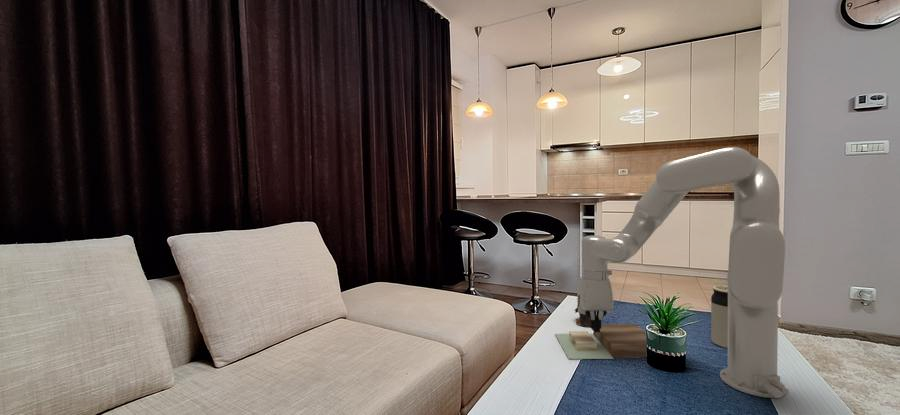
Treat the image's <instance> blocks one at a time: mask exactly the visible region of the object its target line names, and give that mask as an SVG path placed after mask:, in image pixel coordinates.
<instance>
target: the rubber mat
mask: <svg viewBox="0 0 900 415" xmlns="http://www.w3.org/2000/svg"><path fill="white" fill-rule="evenodd" d="M588 333H589V332H588ZM589 334H590V335H591V336H592V338H593V339H594V340H595V342H596V343H597V351H577V350H576V348H575V347H574V345H573V344H572V342H571V340H570V339H569V333H554V337H556V339H557V342H558V343H559V346H560V347H561V349H562V350H563V352H564V353H565V356H566V357H567V359H568V360H570V361H573V360H574V361H579V360H581V361H583V359H615V358H613V357H612V356H611V355H610V354H609V352H608V351H607V350H606V349H605V348H604V346H603V345H602V344H601V343H600V342H599V340H598V339H597V338H596V337H595V336H594V332H592V333H591V332H590V333H589Z"/></svg>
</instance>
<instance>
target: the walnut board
mask: <svg viewBox="0 0 900 415" xmlns="http://www.w3.org/2000/svg"><path fill="white" fill-rule="evenodd" d="M646 333H647V332H646V331H645V330H644V329H642V328H641V327H640V326H639V325H637V324H636V323H628V324H627V323H616V324H615V323H608V324H607V323H605V324H604V323H603V324H602V323H601V329H600V332H594V331H593V334H594V336H595V337H596V338H597V339H598V340H599V342H600V343H601V344H602V345H603V346H604V348H605V349H606V350H607V351H608V352H609V354H610V355H611V356H612V357H613V358H614V359H638V358H637V357H642V358H641V359H644V358H643V357H646V348H647V344H646Z"/></svg>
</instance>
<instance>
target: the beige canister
mask: <svg viewBox="0 0 900 415" xmlns="http://www.w3.org/2000/svg"><path fill="white" fill-rule="evenodd" d="M711 288H712V290H713V293H712V295H711V298H710V299H711V301H710V302H711V303H710V304H711V306H710V307H711V310H710V312H711V315H710V316H711V318H710V319H711V324H710V328H711V329H710V331H711V333H710V334H711V338H710V340H711V342H712V343H713V344H715V345H716V346H720V347H722V348H724V349H725V348H726V349H728V287H727V285H724V284H723V285H722V284H721V285H720V284H718V285H712V287H711Z"/></svg>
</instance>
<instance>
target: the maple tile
mask: <svg viewBox="0 0 900 415" xmlns="http://www.w3.org/2000/svg"><path fill="white" fill-rule="evenodd" d="M568 334H569V339H570V340H571V342H572V344H573V345H574V347H575V348H576V350H577V351H597V343H596V342H595V340H594V339H593V338H592V336H591V335H590V334H589V331H585V330H584V331H579V330H578V331H576V330H575V331H568Z"/></svg>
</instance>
